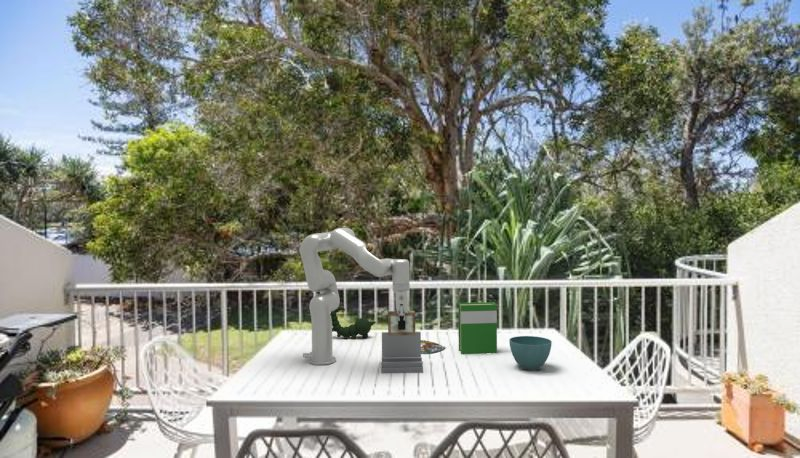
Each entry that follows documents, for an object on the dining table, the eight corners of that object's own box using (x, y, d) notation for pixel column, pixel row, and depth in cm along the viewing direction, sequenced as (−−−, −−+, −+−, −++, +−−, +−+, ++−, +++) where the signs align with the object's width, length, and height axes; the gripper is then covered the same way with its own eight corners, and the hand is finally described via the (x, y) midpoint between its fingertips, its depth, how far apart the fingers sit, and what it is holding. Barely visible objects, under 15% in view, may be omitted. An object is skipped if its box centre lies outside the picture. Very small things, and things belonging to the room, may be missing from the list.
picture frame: (388, 335, 242) (387, 313, 241) (388, 333, 246) (387, 311, 246) (415, 335, 242) (415, 312, 242) (415, 333, 246) (414, 310, 246)
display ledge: (381, 373, 238) (381, 340, 238) (382, 362, 256) (381, 332, 256) (422, 372, 239) (422, 340, 238) (420, 361, 256) (420, 331, 256)
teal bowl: (524, 360, 257) (524, 333, 257) (559, 367, 244) (559, 339, 244) (501, 368, 244) (501, 340, 244) (537, 376, 231) (537, 347, 231)
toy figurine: (332, 343, 301) (377, 338, 302) (328, 309, 301) (373, 304, 301) (333, 339, 311) (377, 334, 311) (330, 306, 310) (374, 301, 311)
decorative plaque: (393, 336, 301) (448, 337, 295) (393, 341, 301) (448, 342, 295) (381, 350, 272) (441, 352, 266) (381, 356, 272) (441, 357, 266)
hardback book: (461, 354, 269) (460, 305, 268) (458, 350, 276) (458, 302, 275) (497, 353, 270) (496, 304, 269) (493, 349, 277) (493, 302, 277)
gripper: (410, 289, 235) (410, 332, 236) (409, 284, 252) (409, 324, 252) (392, 290, 235) (393, 332, 235) (392, 285, 252) (393, 324, 252)
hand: (401, 328), depth 244 cm, fingers closed on picture frame, 4 cm apart
